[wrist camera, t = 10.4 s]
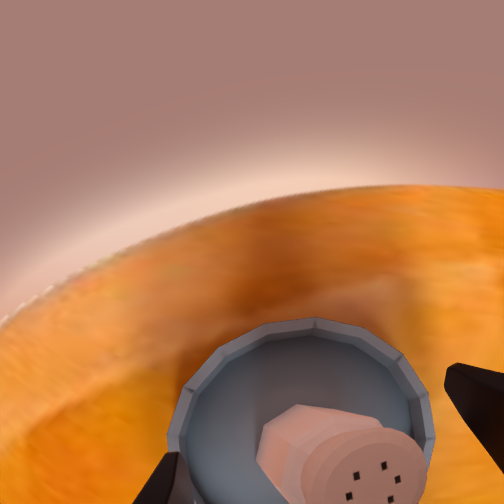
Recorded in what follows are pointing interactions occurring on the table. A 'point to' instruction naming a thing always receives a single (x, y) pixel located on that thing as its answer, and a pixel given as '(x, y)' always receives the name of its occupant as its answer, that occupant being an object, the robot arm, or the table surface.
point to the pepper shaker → (340, 459)
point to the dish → (287, 400)
